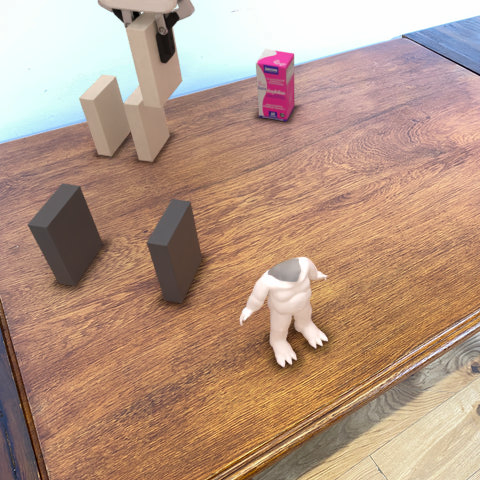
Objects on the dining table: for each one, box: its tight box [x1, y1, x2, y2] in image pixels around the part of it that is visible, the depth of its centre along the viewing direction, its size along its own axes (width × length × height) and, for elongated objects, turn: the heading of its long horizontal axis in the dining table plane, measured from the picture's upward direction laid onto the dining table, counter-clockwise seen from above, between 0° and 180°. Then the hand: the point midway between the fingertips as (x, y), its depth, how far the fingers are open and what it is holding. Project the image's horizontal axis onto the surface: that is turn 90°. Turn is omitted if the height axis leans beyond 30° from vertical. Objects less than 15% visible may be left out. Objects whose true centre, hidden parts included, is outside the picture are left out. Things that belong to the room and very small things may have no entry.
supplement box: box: [255, 48, 295, 122], centre depth 96 cm, size 6×6×12 cm
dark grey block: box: [27, 182, 104, 287], centre depth 68 cm, size 2×8×11 cm, turn 170°
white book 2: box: [125, 12, 183, 108], centre depth 71 cm, size 2×8×11 cm, turn 169°
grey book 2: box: [146, 198, 203, 304], centre depth 66 cm, size 2×8×11 cm, turn 170°
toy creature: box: [239, 256, 329, 368], centre depth 59 cm, size 12×6×12 cm, turn 126°
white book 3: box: [123, 85, 171, 163], centre depth 87 cm, size 2×8×11 cm, turn 170°
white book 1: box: [78, 74, 131, 157], centre depth 88 cm, size 2×8×11 cm, turn 170°
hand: (156, 56), depth 71 cm, fingers closed on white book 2, 2 cm apart
